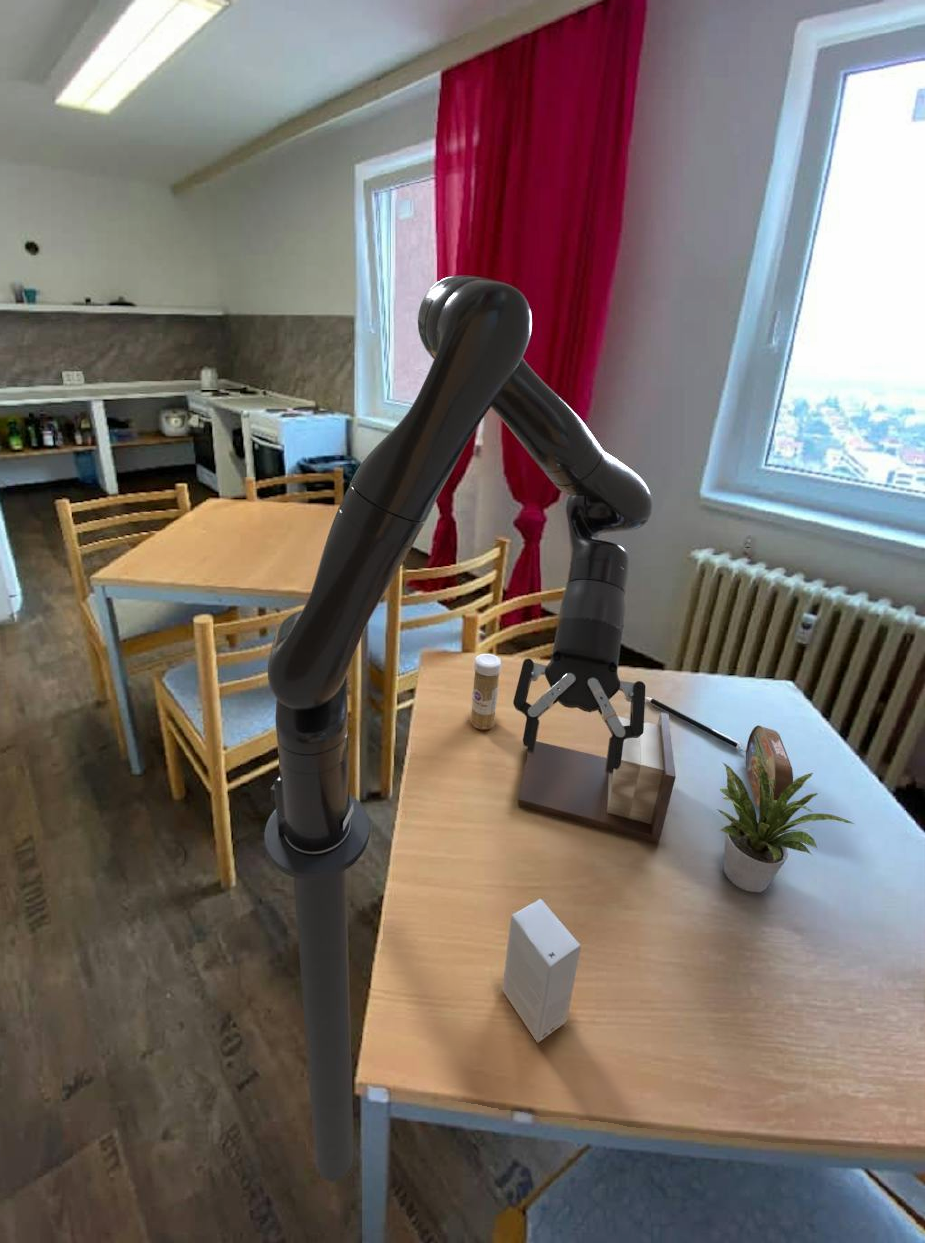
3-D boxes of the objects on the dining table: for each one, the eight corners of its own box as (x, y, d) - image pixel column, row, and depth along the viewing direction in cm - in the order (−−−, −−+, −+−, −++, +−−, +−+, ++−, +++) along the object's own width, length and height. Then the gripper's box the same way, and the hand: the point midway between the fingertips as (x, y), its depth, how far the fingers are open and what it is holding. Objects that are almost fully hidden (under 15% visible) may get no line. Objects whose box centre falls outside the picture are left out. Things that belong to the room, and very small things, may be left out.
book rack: (517, 805, 88) (525, 741, 84) (530, 745, 100) (537, 686, 96) (658, 843, 82) (675, 777, 78) (654, 775, 94) (668, 713, 90)
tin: (741, 754, 99) (754, 713, 96) (762, 758, 98) (775, 718, 95) (759, 821, 86) (774, 777, 83) (783, 827, 85) (799, 783, 82)
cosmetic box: (568, 1022, 61) (583, 946, 57) (537, 1045, 59) (550, 969, 55) (529, 969, 66) (541, 896, 62) (500, 989, 64) (509, 914, 60)
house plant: (816, 861, 80) (853, 769, 74) (822, 949, 69) (867, 848, 63) (702, 817, 87) (727, 729, 80) (691, 890, 76) (719, 795, 69)
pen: (744, 753, 99) (746, 748, 99) (641, 699, 113) (642, 694, 112) (747, 751, 100) (748, 746, 99) (644, 697, 113) (645, 692, 113)
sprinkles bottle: (465, 724, 105) (470, 661, 100) (477, 711, 109) (482, 649, 104) (488, 734, 103) (494, 670, 98) (499, 720, 106) (505, 658, 101)
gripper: (529, 605, 69) (503, 743, 64) (657, 627, 65) (641, 778, 59) (531, 623, 76) (508, 750, 70) (648, 644, 72) (632, 781, 66)
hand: (569, 762), depth 65 cm, fingers open, 8 cm apart
